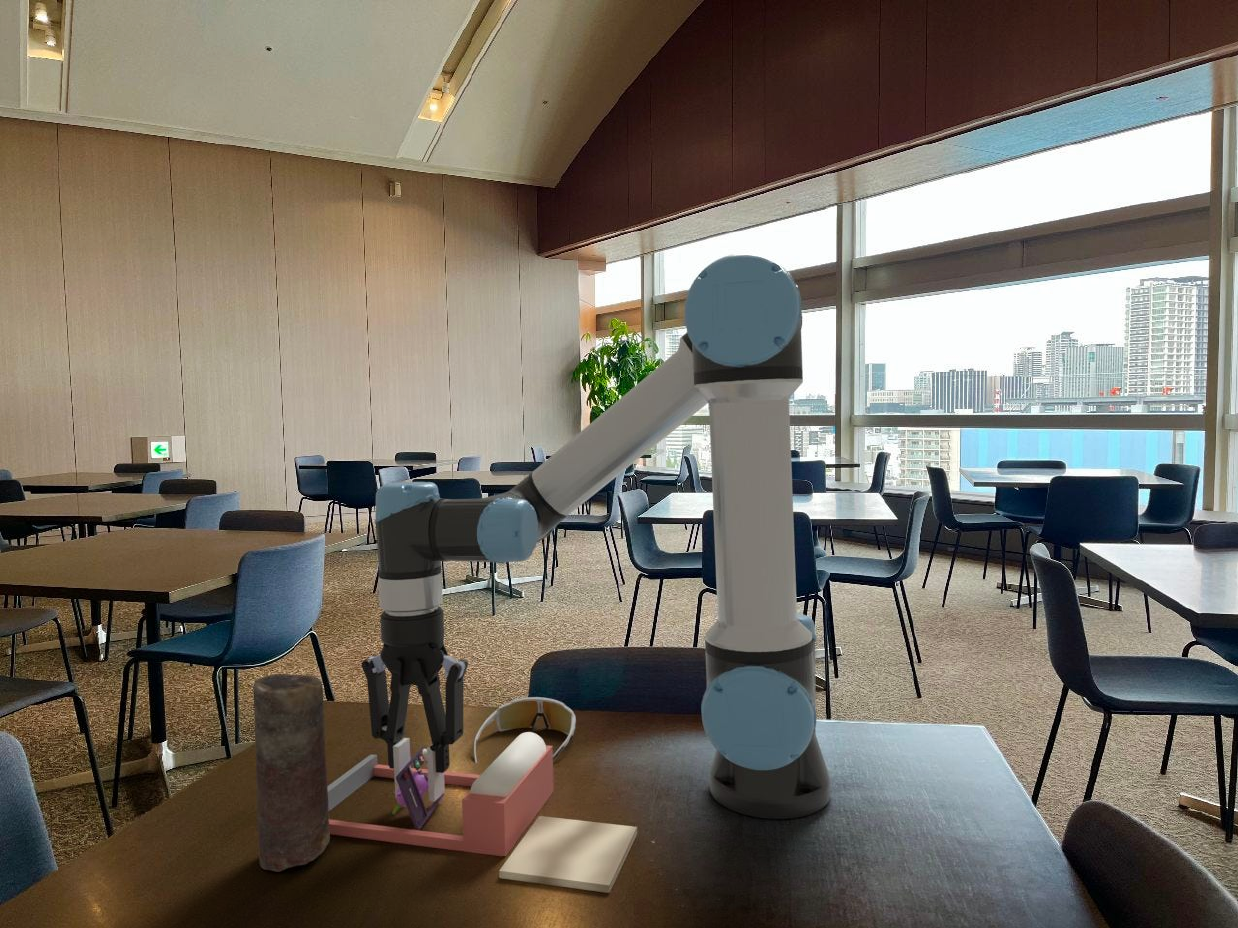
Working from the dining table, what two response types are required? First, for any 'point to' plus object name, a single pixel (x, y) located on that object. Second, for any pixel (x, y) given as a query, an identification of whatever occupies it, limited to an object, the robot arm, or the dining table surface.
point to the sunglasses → (532, 717)
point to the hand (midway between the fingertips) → (420, 794)
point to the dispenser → (467, 800)
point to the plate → (570, 854)
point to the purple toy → (414, 790)
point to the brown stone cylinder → (290, 770)
